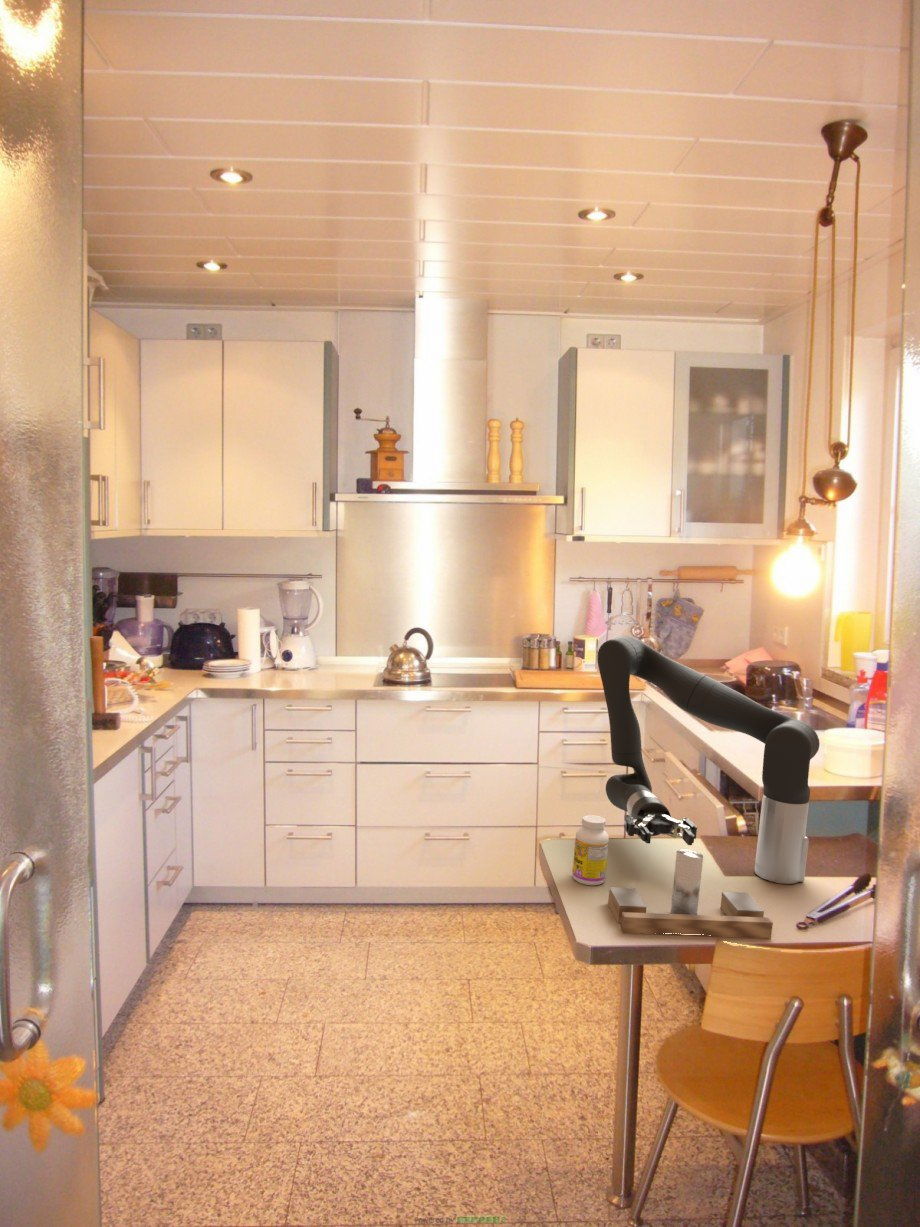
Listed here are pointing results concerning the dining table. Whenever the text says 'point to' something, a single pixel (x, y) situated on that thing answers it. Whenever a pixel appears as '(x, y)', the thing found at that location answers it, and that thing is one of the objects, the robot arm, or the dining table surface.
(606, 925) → the dining table surface
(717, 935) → the rail with metal-top blocks
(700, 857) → the link pin
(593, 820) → the supplement bottle
